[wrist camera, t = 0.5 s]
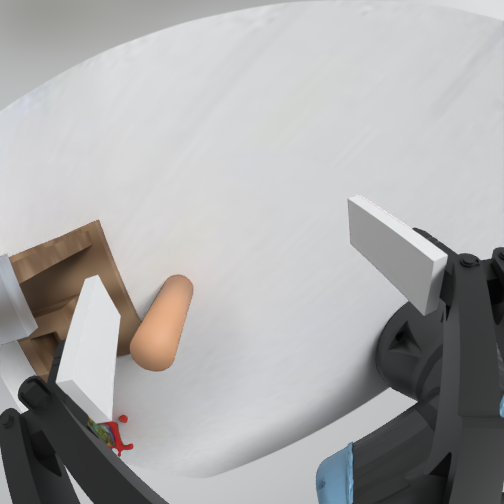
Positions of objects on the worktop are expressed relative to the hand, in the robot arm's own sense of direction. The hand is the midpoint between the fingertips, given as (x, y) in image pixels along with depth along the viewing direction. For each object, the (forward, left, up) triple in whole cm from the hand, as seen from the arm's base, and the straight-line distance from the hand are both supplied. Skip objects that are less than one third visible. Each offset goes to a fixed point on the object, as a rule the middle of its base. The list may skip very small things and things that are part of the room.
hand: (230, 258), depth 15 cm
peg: (-6, +8, -19) cm, 21 cm away
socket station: (-3, +24, -19) cm, 31 cm away
